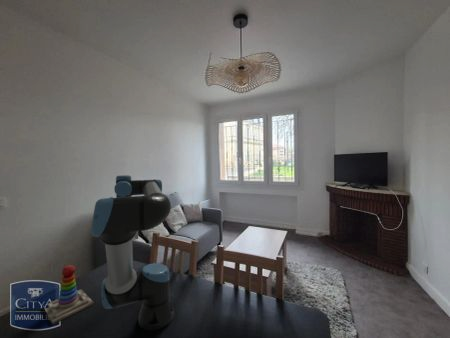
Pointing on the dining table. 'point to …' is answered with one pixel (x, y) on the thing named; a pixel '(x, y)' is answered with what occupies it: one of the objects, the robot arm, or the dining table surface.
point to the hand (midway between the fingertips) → (124, 242)
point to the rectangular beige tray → (60, 314)
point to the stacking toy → (68, 288)
